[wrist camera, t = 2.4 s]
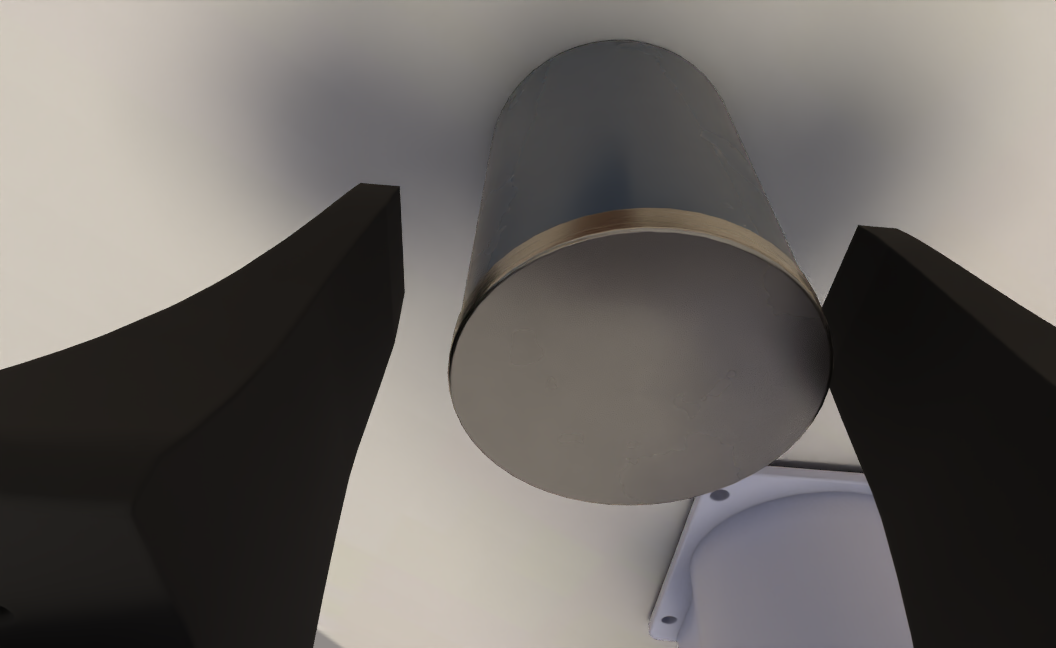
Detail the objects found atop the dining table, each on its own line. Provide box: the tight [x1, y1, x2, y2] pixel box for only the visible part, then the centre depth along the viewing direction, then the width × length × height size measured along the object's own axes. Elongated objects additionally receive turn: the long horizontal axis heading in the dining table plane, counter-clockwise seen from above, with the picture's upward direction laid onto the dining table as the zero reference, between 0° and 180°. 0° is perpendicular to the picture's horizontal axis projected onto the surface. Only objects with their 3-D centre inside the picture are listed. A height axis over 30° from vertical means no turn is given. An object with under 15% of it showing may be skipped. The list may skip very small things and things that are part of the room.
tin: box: [448, 40, 834, 505], centre depth 12 cm, size 5×5×6 cm
